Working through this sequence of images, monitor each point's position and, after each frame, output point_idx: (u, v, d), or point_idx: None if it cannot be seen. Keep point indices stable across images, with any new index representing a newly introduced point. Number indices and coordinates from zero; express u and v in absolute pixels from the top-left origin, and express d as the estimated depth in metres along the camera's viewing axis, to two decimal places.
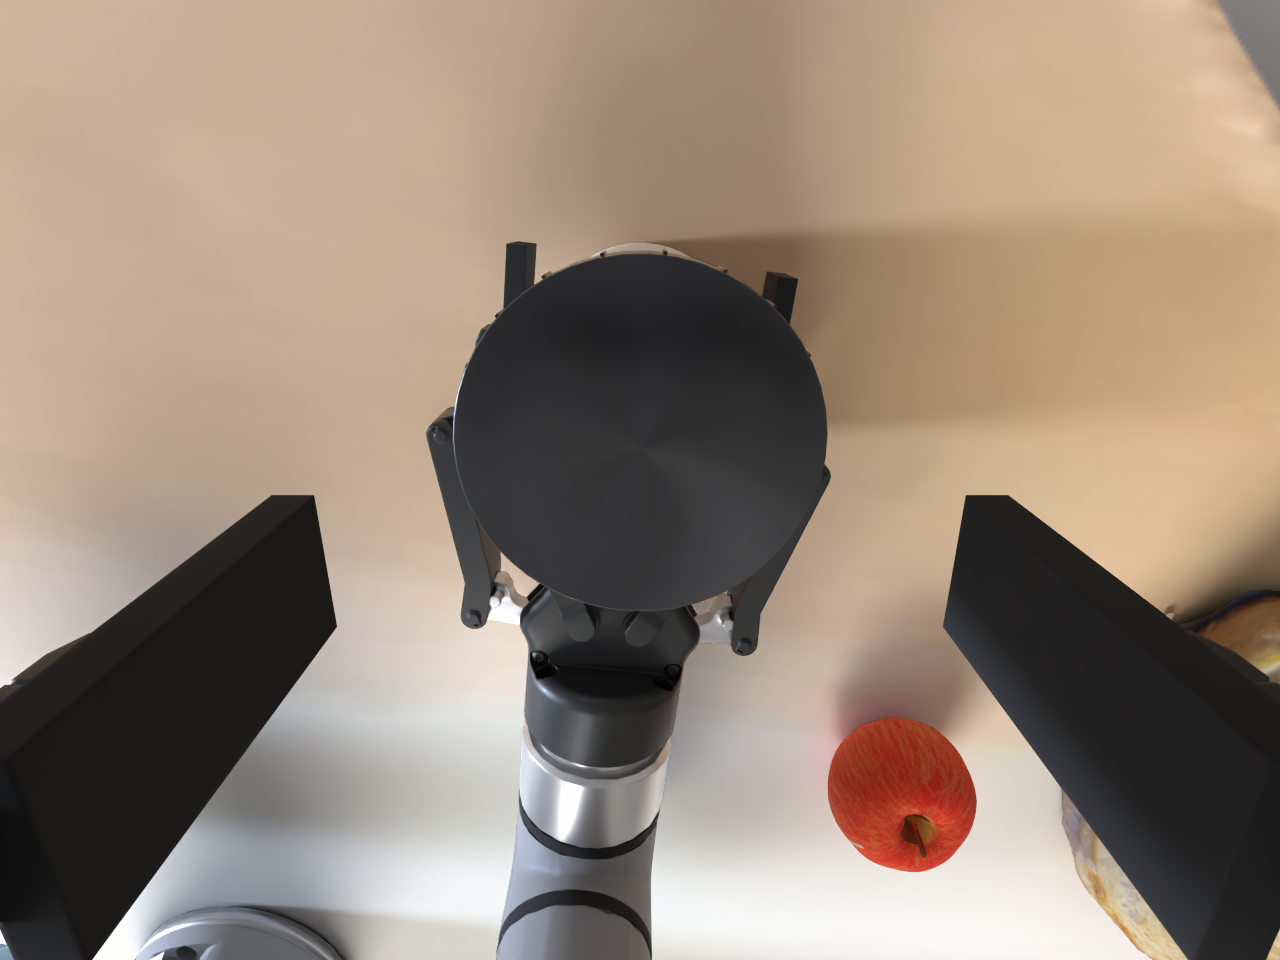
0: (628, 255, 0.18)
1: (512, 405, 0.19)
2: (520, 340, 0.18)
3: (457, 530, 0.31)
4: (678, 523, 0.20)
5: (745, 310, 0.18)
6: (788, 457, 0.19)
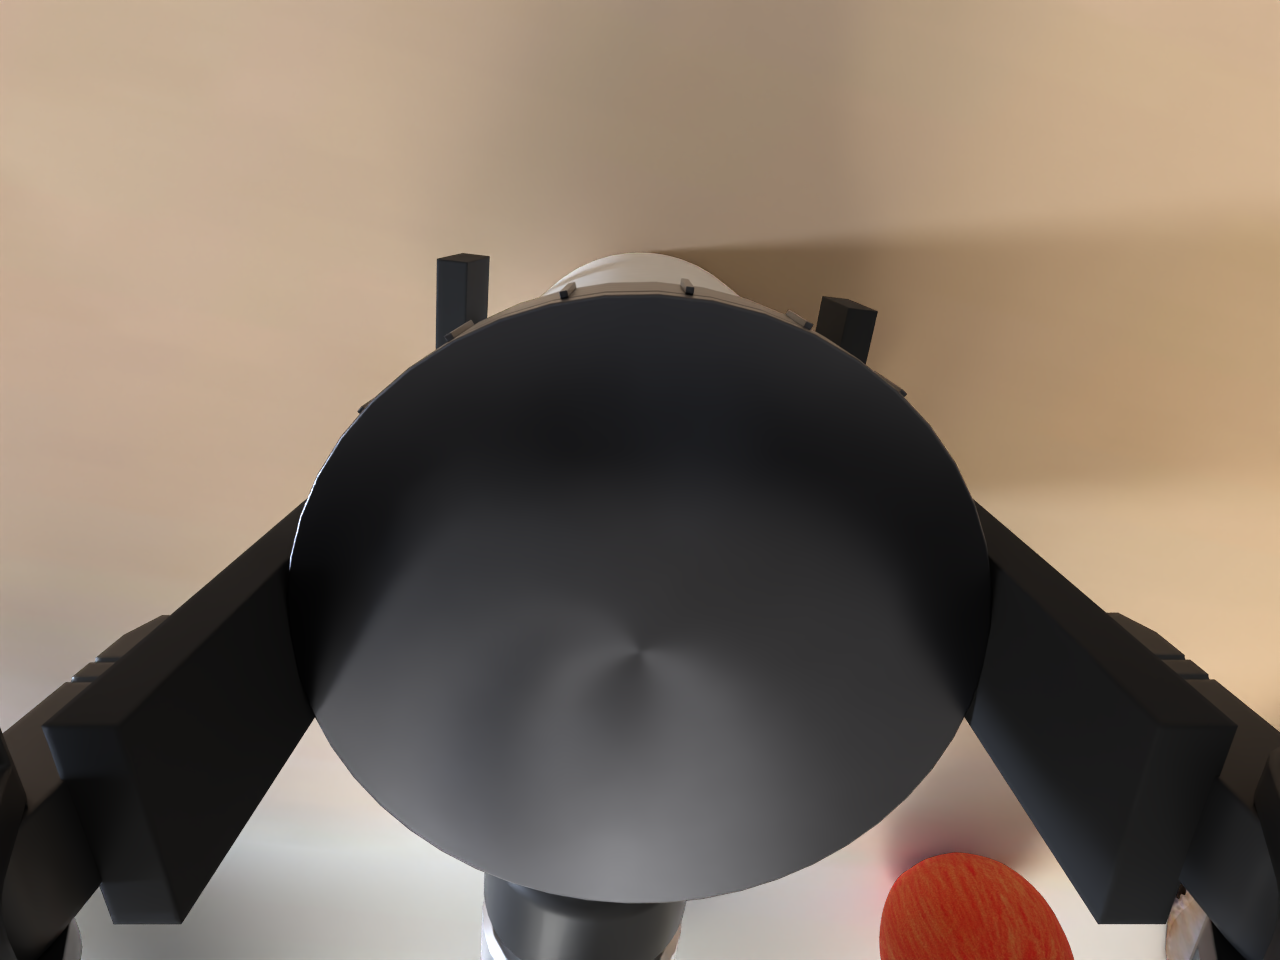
0: (615, 297, 0.09)
1: (396, 577, 0.10)
2: (404, 461, 0.09)
3: None
4: (709, 772, 0.11)
5: (848, 404, 0.09)
6: (916, 665, 0.10)
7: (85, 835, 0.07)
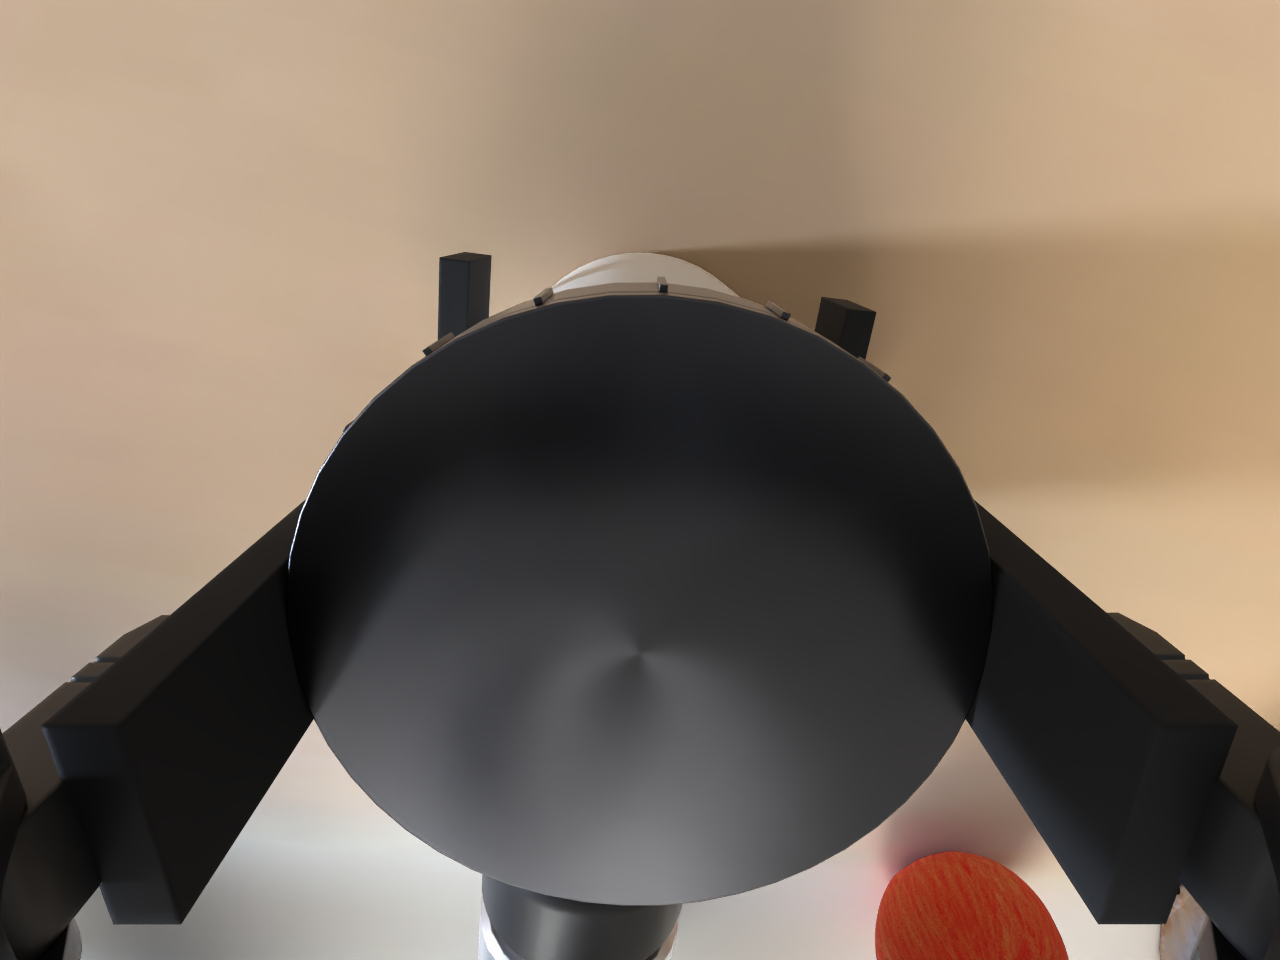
0: (347, 769, 0.11)
1: (647, 842, 0.12)
2: (543, 857, 0.12)
3: None
4: (760, 540, 0.10)
5: (323, 585, 0.10)
6: (536, 394, 0.09)
7: (85, 835, 0.07)
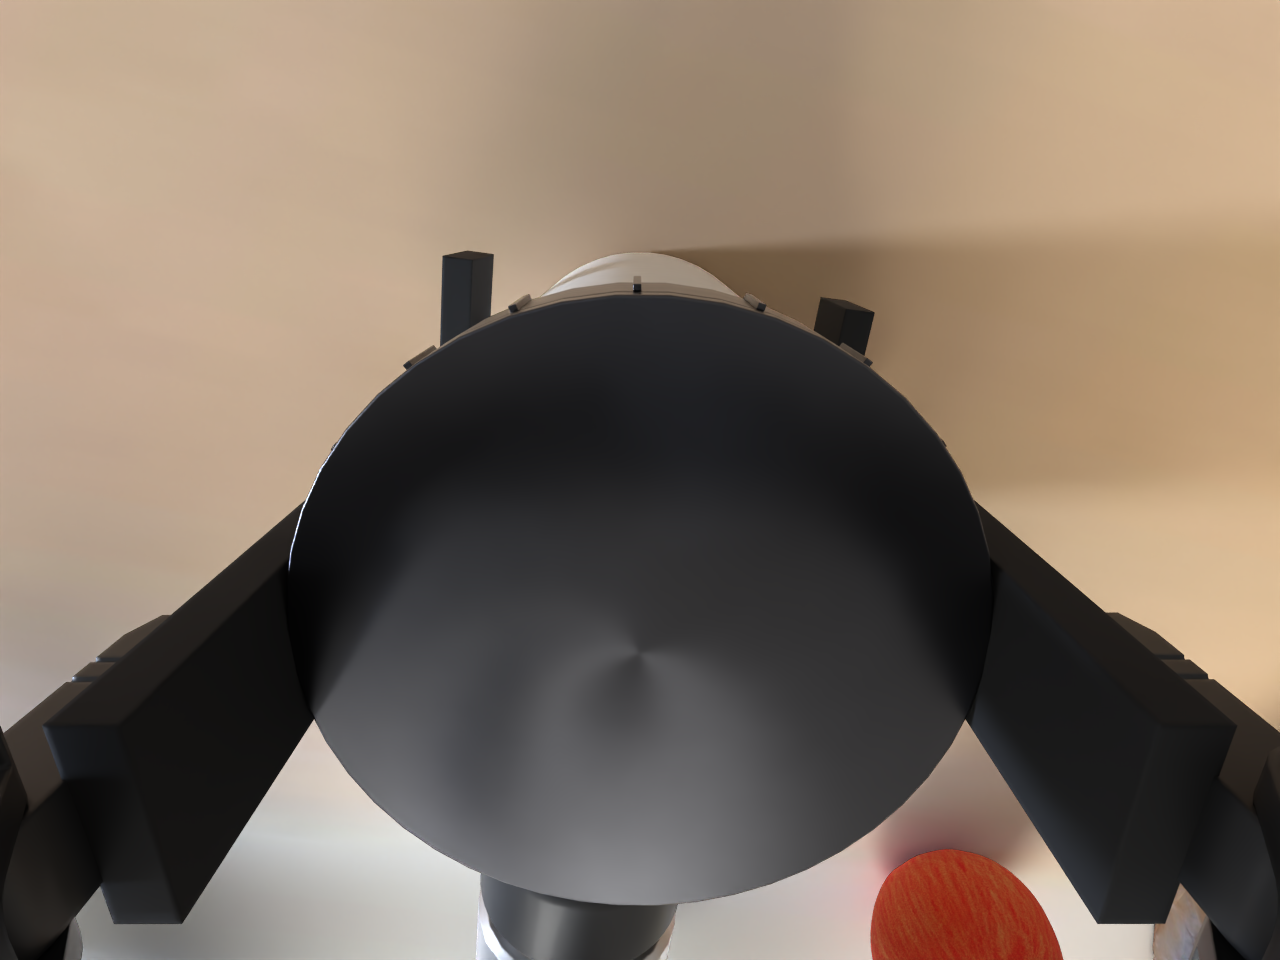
0: (865, 833, 0.12)
1: (879, 565, 0.10)
2: (932, 654, 0.10)
3: None
4: (476, 602, 0.10)
5: (675, 881, 0.12)
6: (444, 795, 0.11)
7: (86, 834, 0.07)
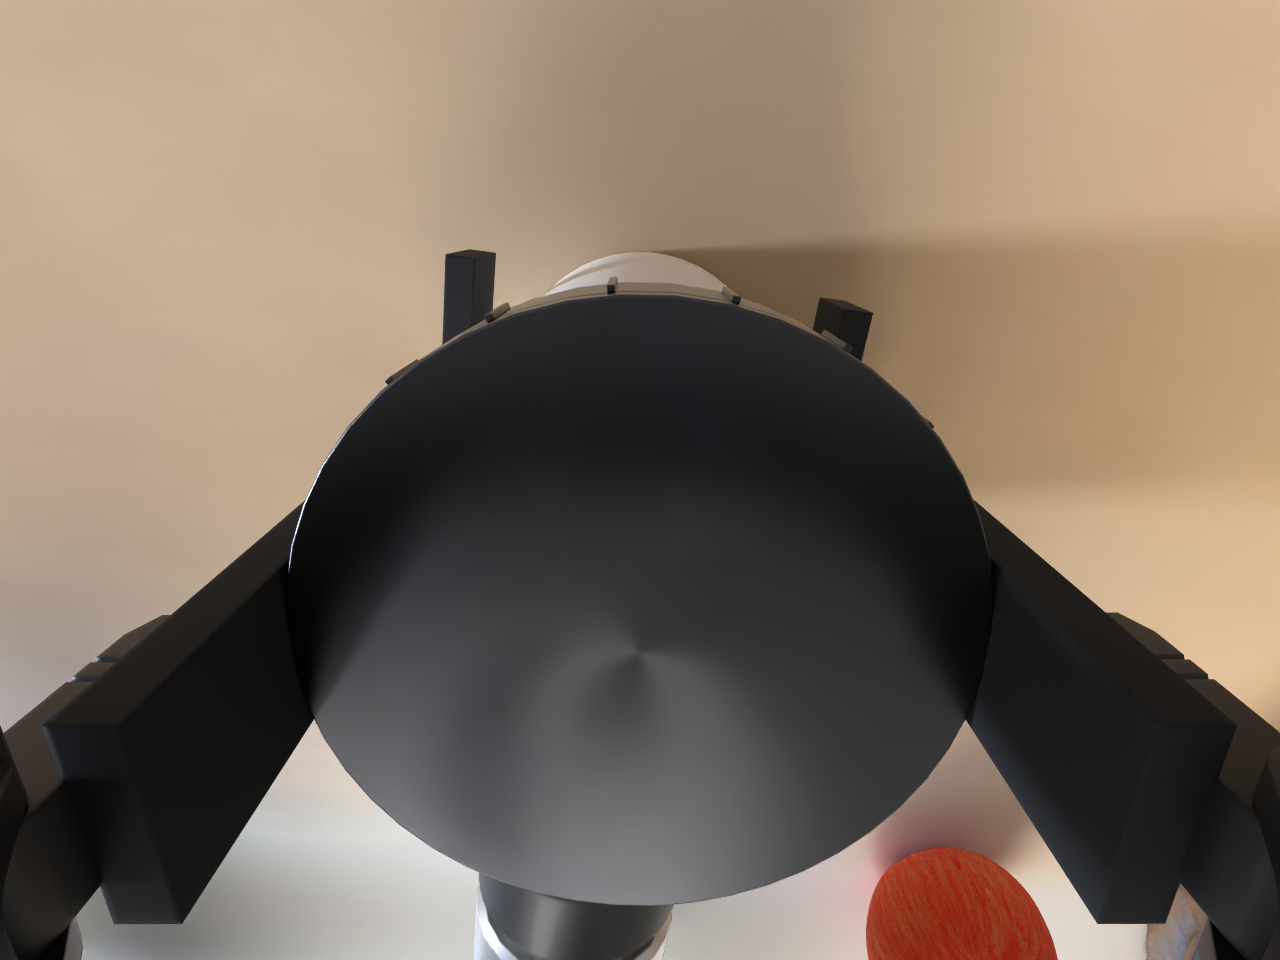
0: (790, 326, 0.09)
1: (446, 491, 0.09)
2: (515, 385, 0.09)
3: None
4: (643, 786, 0.11)
5: (935, 511, 0.10)
6: (871, 757, 0.11)
7: (86, 834, 0.07)
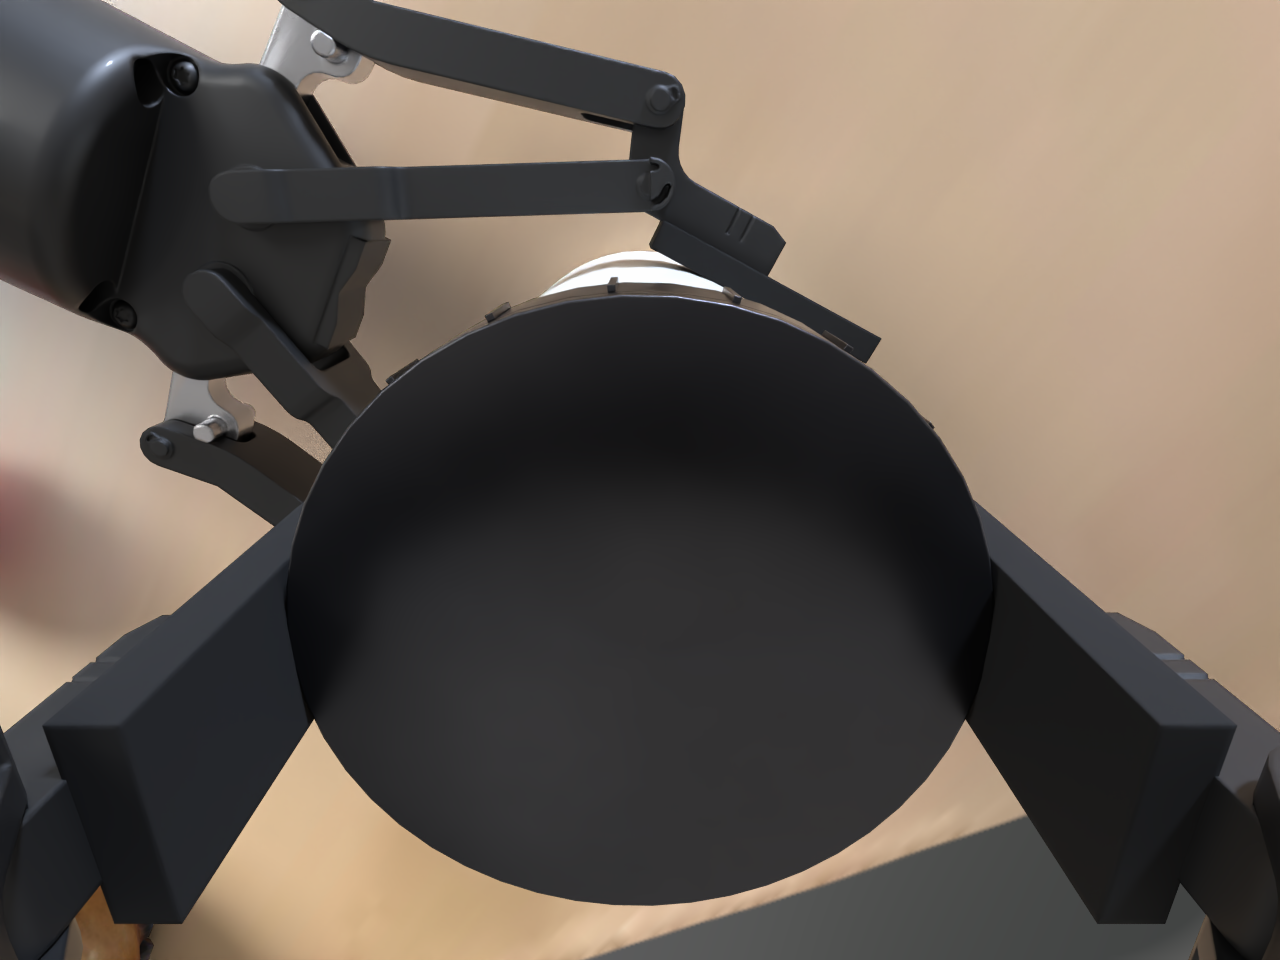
0: (791, 327, 0.09)
1: (446, 491, 0.09)
2: (515, 385, 0.09)
3: (484, 41, 0.16)
4: (643, 786, 0.11)
5: (935, 511, 0.10)
6: (871, 758, 0.11)
7: (86, 835, 0.07)
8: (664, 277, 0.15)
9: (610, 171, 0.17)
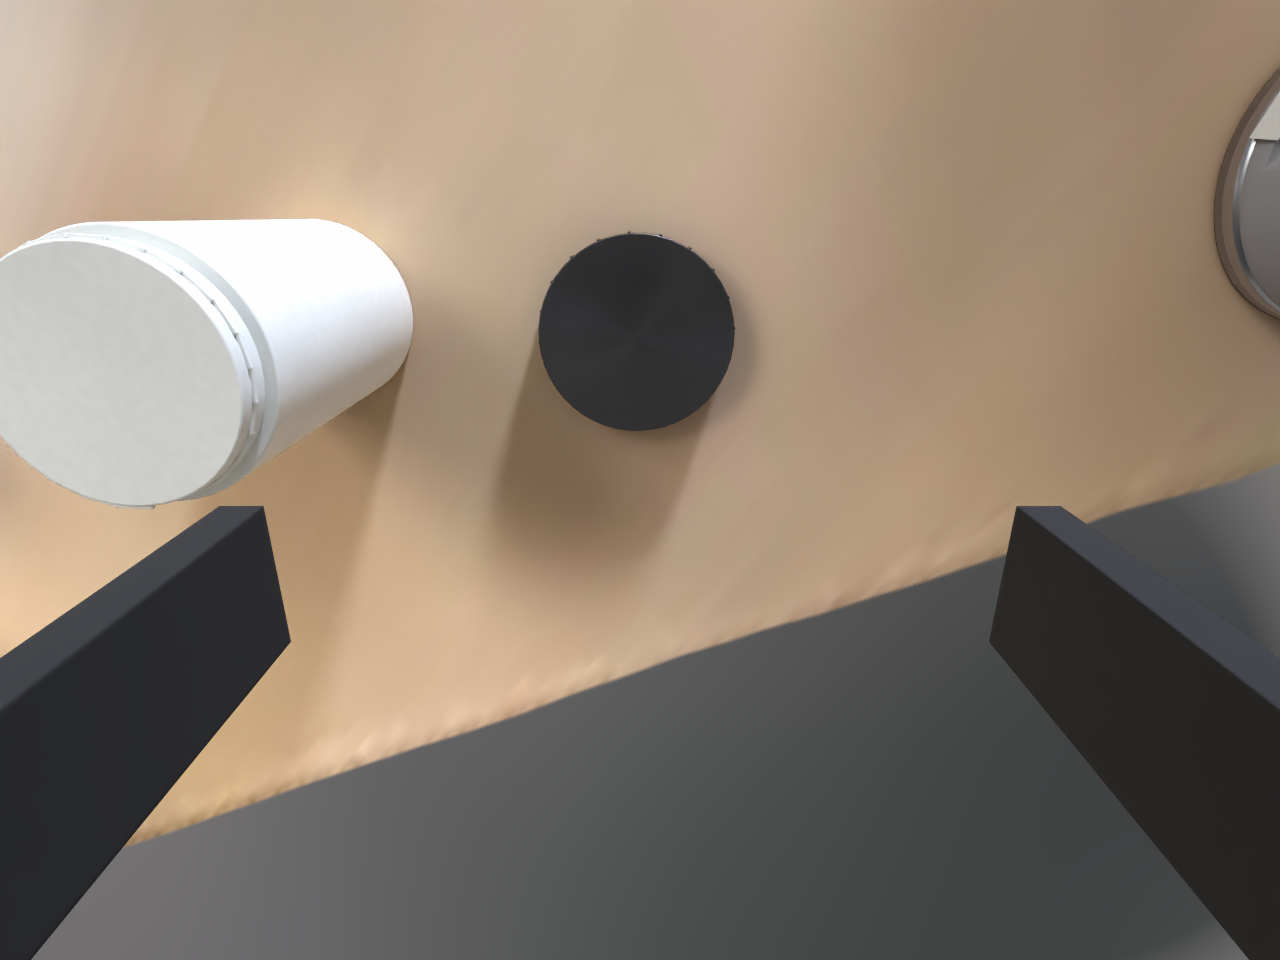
0: (673, 241, 0.35)
1: (585, 286, 0.36)
2: (605, 257, 0.36)
3: None
4: (637, 383, 0.38)
5: (714, 292, 0.36)
6: (704, 373, 0.38)
7: None
8: (201, 222, 0.26)
9: None
